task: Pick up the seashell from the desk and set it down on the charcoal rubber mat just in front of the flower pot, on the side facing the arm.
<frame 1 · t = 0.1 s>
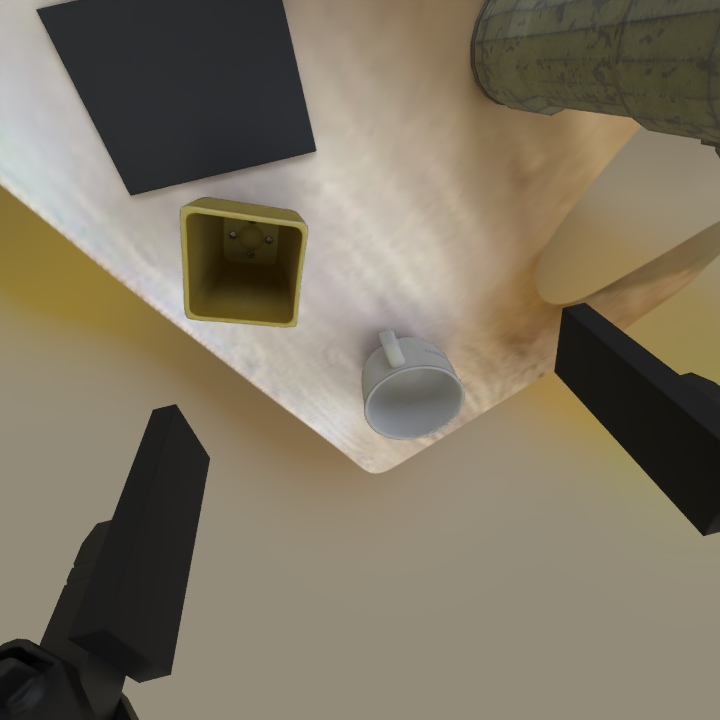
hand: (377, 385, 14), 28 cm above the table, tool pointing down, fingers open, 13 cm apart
thermos: (521, 43, 33), on the table
flower pot: (251, 234, 38), on the table
teacup: (396, 352, 48), on the table
mat: (194, 88, 31), on the table
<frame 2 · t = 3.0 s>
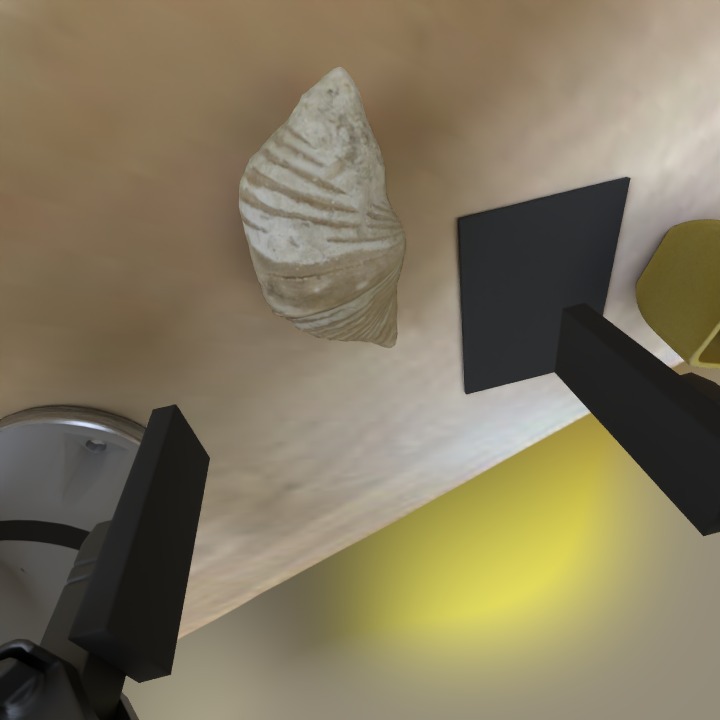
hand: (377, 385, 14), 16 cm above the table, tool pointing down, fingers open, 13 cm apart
seashell: (324, 234, 27), on the table
flower pot: (671, 260, 33), on the table
mat: (534, 299, 32), on the table
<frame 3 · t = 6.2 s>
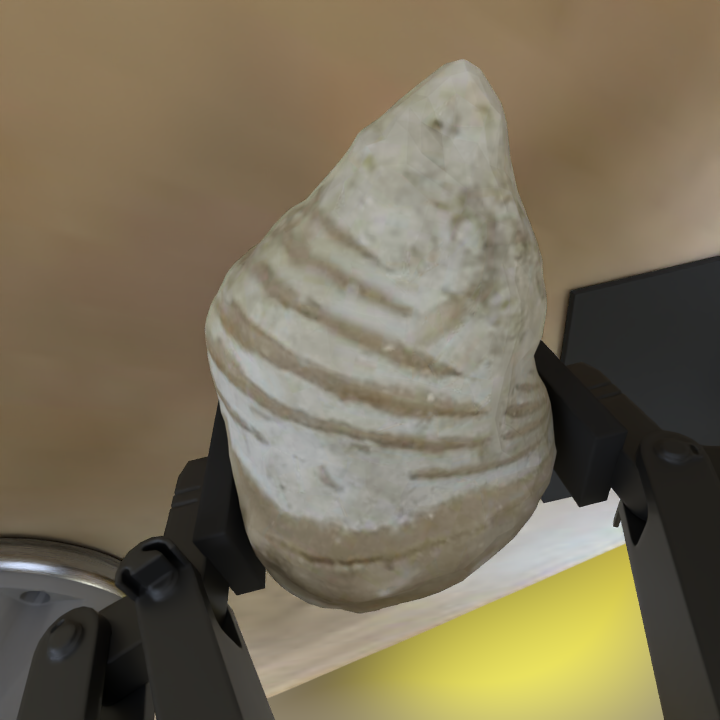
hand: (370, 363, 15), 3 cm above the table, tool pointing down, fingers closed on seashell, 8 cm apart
seashell: (367, 356, 15), point 3 cm above the table, touching gripper
mat: (655, 391, 23), on the table
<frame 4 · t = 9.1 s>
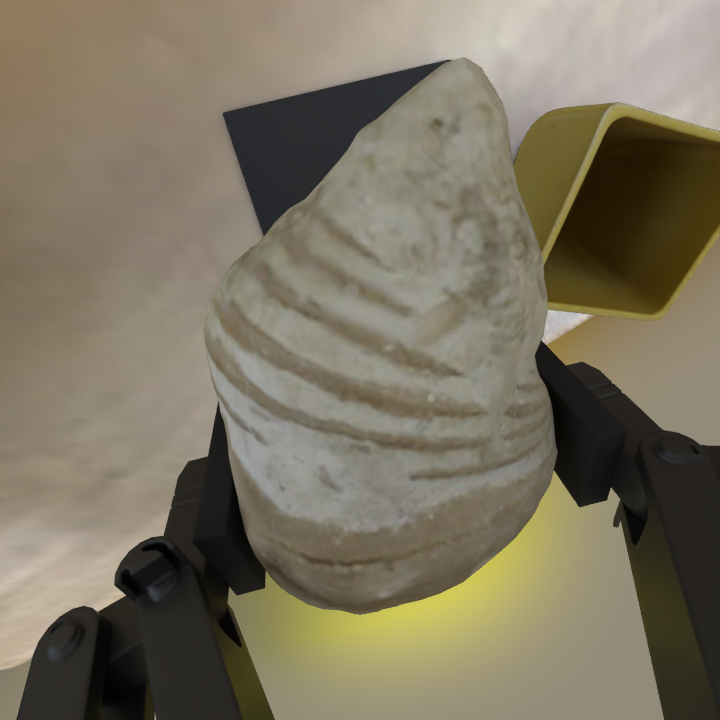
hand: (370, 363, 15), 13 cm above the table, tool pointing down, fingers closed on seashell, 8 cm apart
seashell: (367, 356, 15), point 13 cm above the table, touching gripper
flower pot: (538, 186, 26), on the table
mat: (364, 235, 26), on the table
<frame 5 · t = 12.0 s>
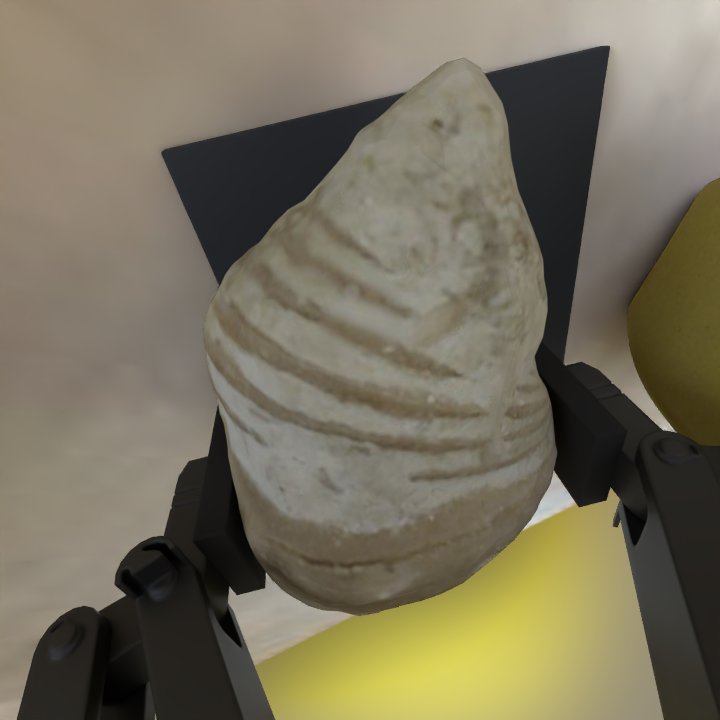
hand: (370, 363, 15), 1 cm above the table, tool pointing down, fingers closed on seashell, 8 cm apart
seashell: (366, 356, 15), resting on mat, touching gripper
flower pot: (702, 258, 16), on the table
mat: (415, 340, 16), on the table
when the fingers open (1 cm above the table, at t = 12.3 s): seashell stays where it is, resting on mat.
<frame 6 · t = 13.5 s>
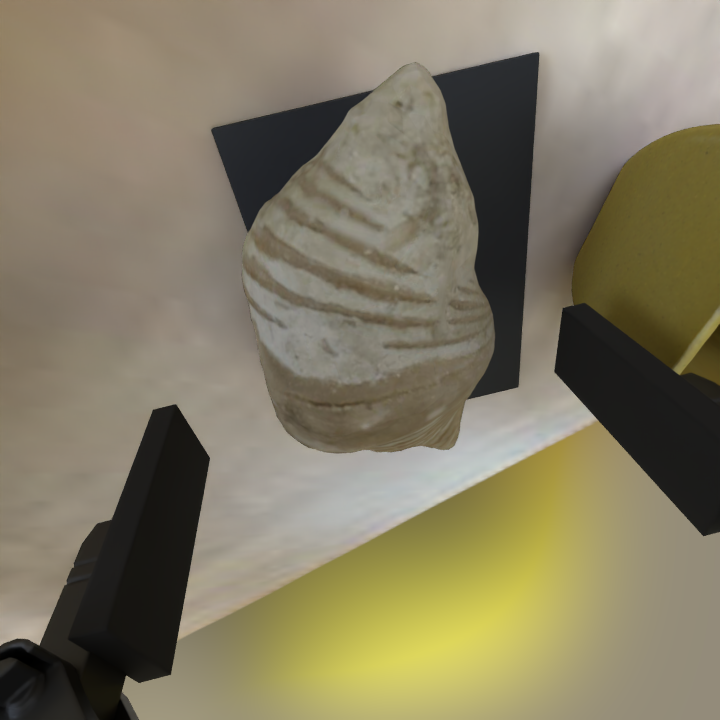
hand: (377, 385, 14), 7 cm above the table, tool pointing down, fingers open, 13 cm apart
seashell: (362, 298, 19), resting on mat
flower pot: (634, 222, 19), on the table
mat: (401, 286, 19), on the table
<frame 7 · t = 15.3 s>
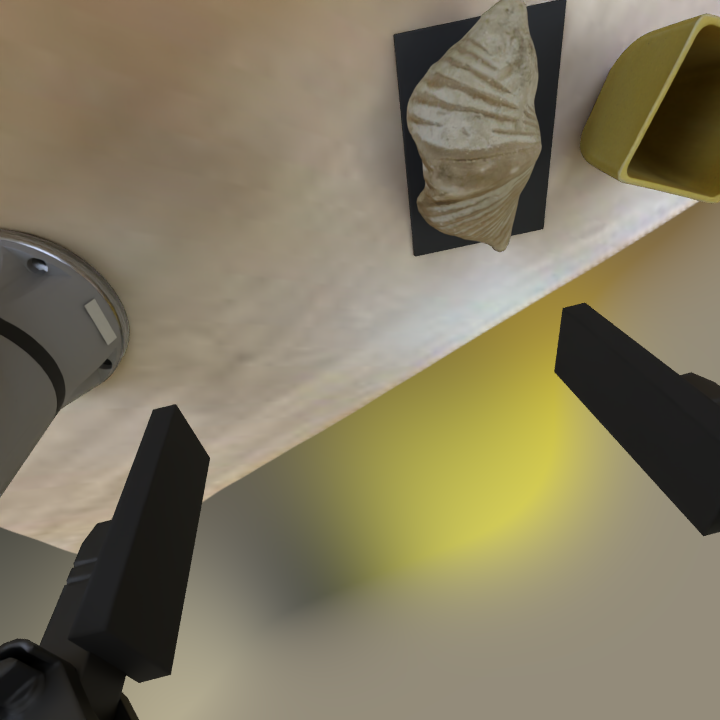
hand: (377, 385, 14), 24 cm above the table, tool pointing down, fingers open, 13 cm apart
seashell: (455, 150, 32), resting on mat
flower pot: (617, 110, 33), on the table
mat: (478, 145, 33), on the table
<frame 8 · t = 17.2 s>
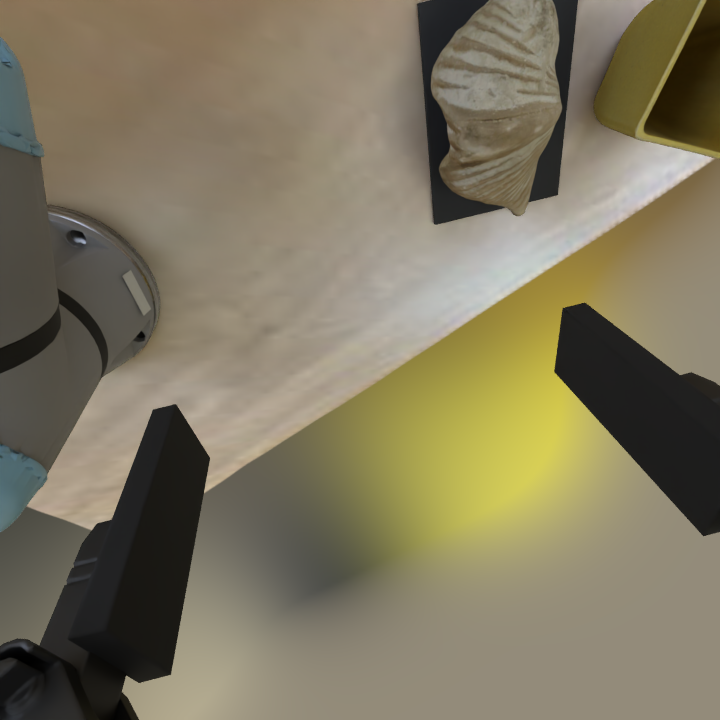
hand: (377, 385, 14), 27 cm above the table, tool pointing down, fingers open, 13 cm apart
seashell: (474, 118, 34), resting on mat
flower pot: (628, 75, 34), on the table
mat: (496, 112, 34), on the table
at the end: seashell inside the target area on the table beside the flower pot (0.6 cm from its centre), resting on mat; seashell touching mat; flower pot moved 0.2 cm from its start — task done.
